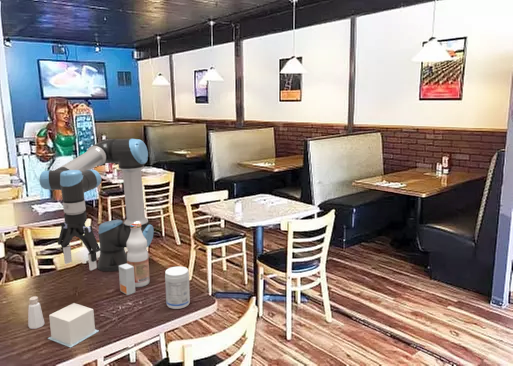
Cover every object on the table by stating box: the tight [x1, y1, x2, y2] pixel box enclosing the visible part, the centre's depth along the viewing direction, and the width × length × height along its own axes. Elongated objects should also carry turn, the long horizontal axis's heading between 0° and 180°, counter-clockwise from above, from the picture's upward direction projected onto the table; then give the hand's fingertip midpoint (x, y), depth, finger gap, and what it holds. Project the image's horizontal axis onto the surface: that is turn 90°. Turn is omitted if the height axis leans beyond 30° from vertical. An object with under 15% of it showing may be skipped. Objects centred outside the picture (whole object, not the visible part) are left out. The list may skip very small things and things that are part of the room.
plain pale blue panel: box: [47, 328, 100, 349], centre depth 151 cm, size 12×12×1 cm
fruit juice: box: [126, 223, 151, 288], centre depth 191 cm, size 9×9×28 cm
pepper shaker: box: [27, 295, 45, 330], centre depth 156 cm, size 5×5×11 cm
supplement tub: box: [164, 265, 191, 310], centre depth 172 cm, size 10×10×15 cm
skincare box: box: [118, 263, 136, 296], centre depth 184 cm, size 6×4×12 cm
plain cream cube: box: [48, 302, 96, 345], centre depth 150 cm, size 10×10×9 cm
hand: (80, 265), depth 161 cm, fingers open, 13 cm apart
